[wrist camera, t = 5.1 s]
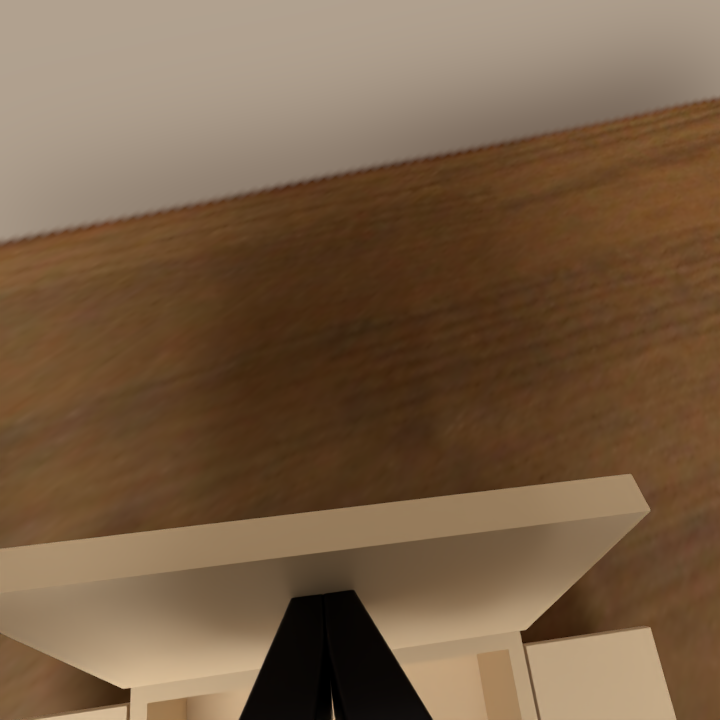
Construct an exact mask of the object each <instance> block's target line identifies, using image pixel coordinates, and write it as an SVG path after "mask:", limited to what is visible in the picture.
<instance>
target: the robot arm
mask: <svg viewBox="0 0 720 720" xmlns="http://www.w3.org/2000/svg"><path fill="white" fill-rule="evenodd" d="M332 700H333V707H332ZM333 709H334V717H335V720H433V718H432V717H431V715H430V713H429V712H428V710H427V709H426V707H425V705H424V704H423V702H422V700H421V699H420V697H419V695H418V694H417V692H416V690H415V689H414V687H413V686H412V684H411V682H410V681H409V679H408V677H407V676H406V674H405V672H404V671H403V669H402V667H401V666H400V664H399V663H398V661H397V659H396V658H395V656H394V654H393V653H392V651H391V649H390V648H389V646H388V644H387V643H386V641H385V640H384V638H383V636H382V635H381V633H380V631H379V630H378V628H377V626H376V625H375V623H374V621H373V620H372V618H371V617H370V615H369V613H368V612H367V610H366V608H365V607H364V605H363V603H362V602H361V600H360V598H359V597H358V595H357V594H356V592H355V590H346V591H339V592H332V593H325V594H324V595H322V594H317V595H309V596H302V597H294V598H291V600H290V602H289V604H288V606H287V609H286V611H285V613H284V616H283V618H282V620H281V623H280V625H279V627H278V630H277V632H276V634H275V637H274V639H273V641H272V643H271V646H270V648H269V650H268V653H267V655H266V657H265V660H264V662H263V664H262V667H261V669H260V671H259V674H258V676H257V678H256V680H255V683H254V685H253V687H252V690H251V692H250V694H249V697H248V699H247V701H246V704H245V706H244V708H243V711H242V713H241V715H240V717H239V720H333Z"/></svg>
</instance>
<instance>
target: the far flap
mask: <svg viewBox="0 0 720 720" xmlns="http://www.w3.org/2000/svg"><path fill="white" fill-rule="evenodd" d="M650 511H651V510H650V508H649V506H648V504H647V503H646V501H645V499H644V497H643V495H642V493H641V491H640V490H639V488H638V486H637V484H636V482H635V480H634V478H633V477H632V475H631V474H625V475H616V476H608V477H599V478H591V479H583V480H574V481H566V482H558V483H549V484H541V485H532V486H524V487H516V488H507V489H499V490H490V491H482V492H474V493H465V494H457V495H448V496H440V497H432V498H423V499H415V500H407V501H398V502H390V503H381V504H373V505H365V506H356V507H348V508H339V509H331V510H323V511H314V512H306V513H297V514H289V515H281V516H272V517H264V518H256V519H247V520H239V521H230V522H222V523H214V524H205V525H197V526H188V527H180V528H172V529H163V530H155V531H146V532H138V533H130V534H121V535H113V536H105V537H96V538H88V539H79V540H71V541H63V542H54V543H46V544H37V545H29V546H21V547H12V548H4V549H0V633H1V634H3V635H5V636H8V637H10V638H12V639H14V640H16V641H19V642H21V643H23V644H25V645H27V646H30V647H32V648H34V649H36V650H39V651H41V652H43V653H45V654H47V655H50V656H52V657H54V658H56V659H58V660H61V661H63V662H65V663H67V664H69V665H72V666H74V667H76V668H78V669H80V670H83V671H85V672H87V673H89V674H91V675H94V676H96V677H98V678H100V679H102V680H105V681H107V682H109V683H111V684H113V685H116V686H118V687H120V688H122V689H126V688H133V687H139V686H146V685H153V684H160V683H167V682H174V681H180V680H187V679H194V678H201V677H208V676H214V675H221V674H228V673H235V672H242V671H249V670H255V669H261V667H262V664H263V662H264V660H265V657H266V655H267V653H268V650H269V648H270V646H271V643H272V641H273V639H274V637H275V634H276V632H277V630H278V627H279V625H280V623H281V620H282V618H283V616H284V613H285V611H286V609H287V606H288V604H289V602H290V600H291V598H294V597H302V596H309V595H317V594H322V595H324V594H325V593H332V592H339V591H346V590H355V592H356V594H357V595H358V597H359V598H360V600H361V602H362V603H363V605H364V607H365V608H366V610H367V612H368V613H369V615H370V617H371V618H372V620H373V621H374V623H375V625H376V626H377V628H378V630H379V631H380V633H381V635H382V636H383V638H384V640H385V641H386V643H387V644H388V646H389V648H390V649H391V650H392V649H399V648H405V647H412V646H419V645H426V644H433V643H440V642H446V641H453V640H460V639H467V638H474V637H481V636H487V635H494V634H501V633H508V632H515V631H521V630H526V629H527V628H528V627H529V626H531V625H532V624H533V623H534V622H535V621H536V620H537V619H538V618H539V617H540V616H541V615H542V614H543V613H544V612H545V611H546V610H547V609H548V608H549V607H550V606H551V605H553V604H554V603H555V602H556V601H557V600H558V599H559V598H560V597H561V596H562V595H563V594H564V593H565V592H566V591H567V590H568V589H569V588H570V587H571V586H572V585H573V584H575V583H576V582H577V581H578V580H579V579H580V578H581V577H582V576H583V575H584V574H585V573H586V572H587V571H588V570H589V569H590V568H591V567H592V566H593V565H594V564H595V563H597V562H598V561H599V560H600V559H601V558H602V557H603V556H604V555H605V554H606V553H607V552H608V551H609V550H610V549H611V548H612V547H613V546H614V545H615V544H616V543H618V542H619V541H620V540H621V539H622V538H623V537H624V536H625V535H626V534H627V533H628V532H629V531H630V530H631V529H632V528H633V527H634V526H635V525H636V524H637V523H638V522H640V521H641V520H642V519H643V518H644V517H645V516H646V515H647V514H648V513H649V512H650Z"/></svg>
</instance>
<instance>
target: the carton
mask: <svg viewBox="0 0 720 720" xmlns="http://www.w3.org/2000/svg"><path fill="white" fill-rule="evenodd" d="M391 651H392V653H393V654H394V656H395V658H396V659H397V661H398V663H399V664H400V666H401V667H402V669H403V671H404V672H405V674H406V676H407V677H408V679H409V681H410V682H411V684H412V686H413V687H414V689H415V690H416V692H417V694H418V695H419V697H420V699H421V700H422V702H423V704H424V705H425V707H426V709H427V710H428V712H429V713H430V715H431V717H432V718H433V720H676V717H675V713H674V710H673V706H672V703H671V699H670V695H669V692H668V688H667V685H666V681H665V678H664V674H663V671H662V667H661V664H660V660H659V656H658V653H657V649H656V646H655V642H654V639H653V635H652V632H651V628H650V627H647V626H639V627H632V628H625V629H619V630H612V631H605V632H598V633H592V634H585V635H578V636H572V637H565V638H558V639H552V640H545V641H538V642H531V643H525V644H522V639H521V634H520V631H515V632H508V633H501V634H494V635H487V636H481V637H474V638H467V639H460V640H453V641H446V642H440V643H433V644H426V645H419V646H412V647H405V648H399V649H392V650H391ZM259 671H260V669H255V670H249V671H242V672H235V673H228V674H221V675H214V676H208V677H201V678H194V679H187V680H180V681H174V682H167V683H160V684H153V685H146V686H139V687H133V688H131V699H130V702H129V703H123V704H116V705H109V706H102V707H96V708H89V709H82V710H76V711H69V712H62V713H55V714H49V715H42V716H35V717H29V718H22V719H15V720H239V717H240V715H241V713H242V711H243V708H244V706H245V704H246V701H247V699H248V697H249V694H250V692H251V690H252V687H253V685H254V683H255V680H256V678H257V676H258V674H259ZM332 707H333V700H332ZM333 720H335V717H334V709H333Z"/></svg>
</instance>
